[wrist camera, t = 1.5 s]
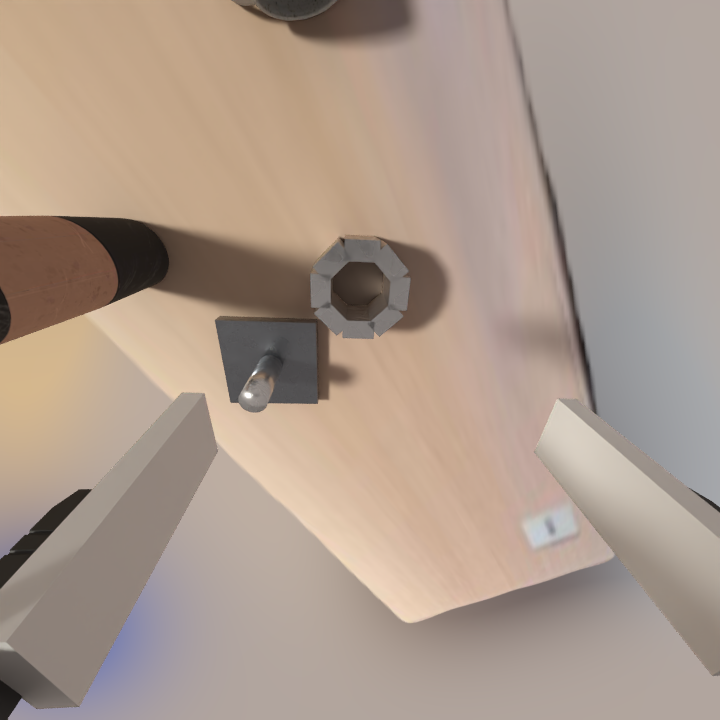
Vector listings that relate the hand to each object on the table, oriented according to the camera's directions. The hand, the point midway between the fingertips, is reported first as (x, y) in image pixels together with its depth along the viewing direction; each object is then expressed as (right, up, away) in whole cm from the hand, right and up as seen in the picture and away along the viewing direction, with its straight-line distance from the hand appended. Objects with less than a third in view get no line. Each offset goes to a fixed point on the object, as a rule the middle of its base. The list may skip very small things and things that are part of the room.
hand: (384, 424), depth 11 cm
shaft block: (-13, +2, +28) cm, 30 cm away
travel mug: (-26, +14, +21) cm, 36 cm away
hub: (-1, +12, +23) cm, 26 cm away
